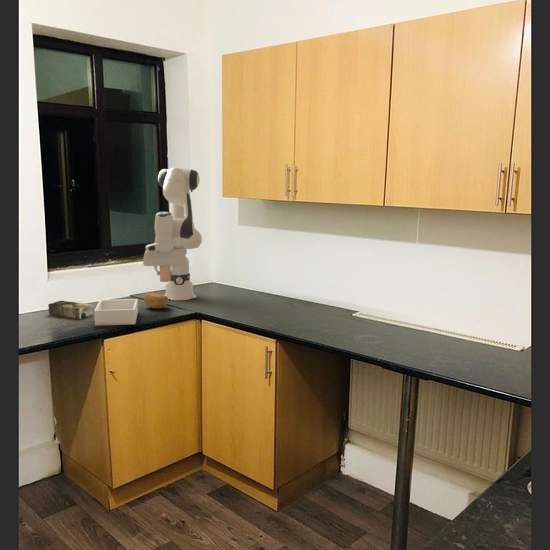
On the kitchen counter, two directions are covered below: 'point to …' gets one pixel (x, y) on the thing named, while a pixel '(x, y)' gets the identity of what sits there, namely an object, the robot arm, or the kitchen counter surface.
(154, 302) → the potato
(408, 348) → the kitchen counter surface
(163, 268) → the wooden block
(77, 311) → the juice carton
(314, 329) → the kitchen counter surface
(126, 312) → the bin
